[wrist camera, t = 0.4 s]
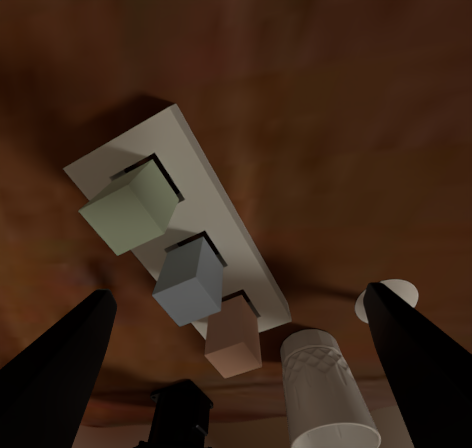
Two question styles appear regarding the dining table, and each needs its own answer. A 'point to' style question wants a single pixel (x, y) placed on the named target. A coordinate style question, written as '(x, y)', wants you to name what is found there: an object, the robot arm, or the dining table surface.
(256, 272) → the button board
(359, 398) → the white cup
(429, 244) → the dining table surface
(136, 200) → the pale green block
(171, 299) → the grey rectangular block
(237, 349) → the terracotta button
